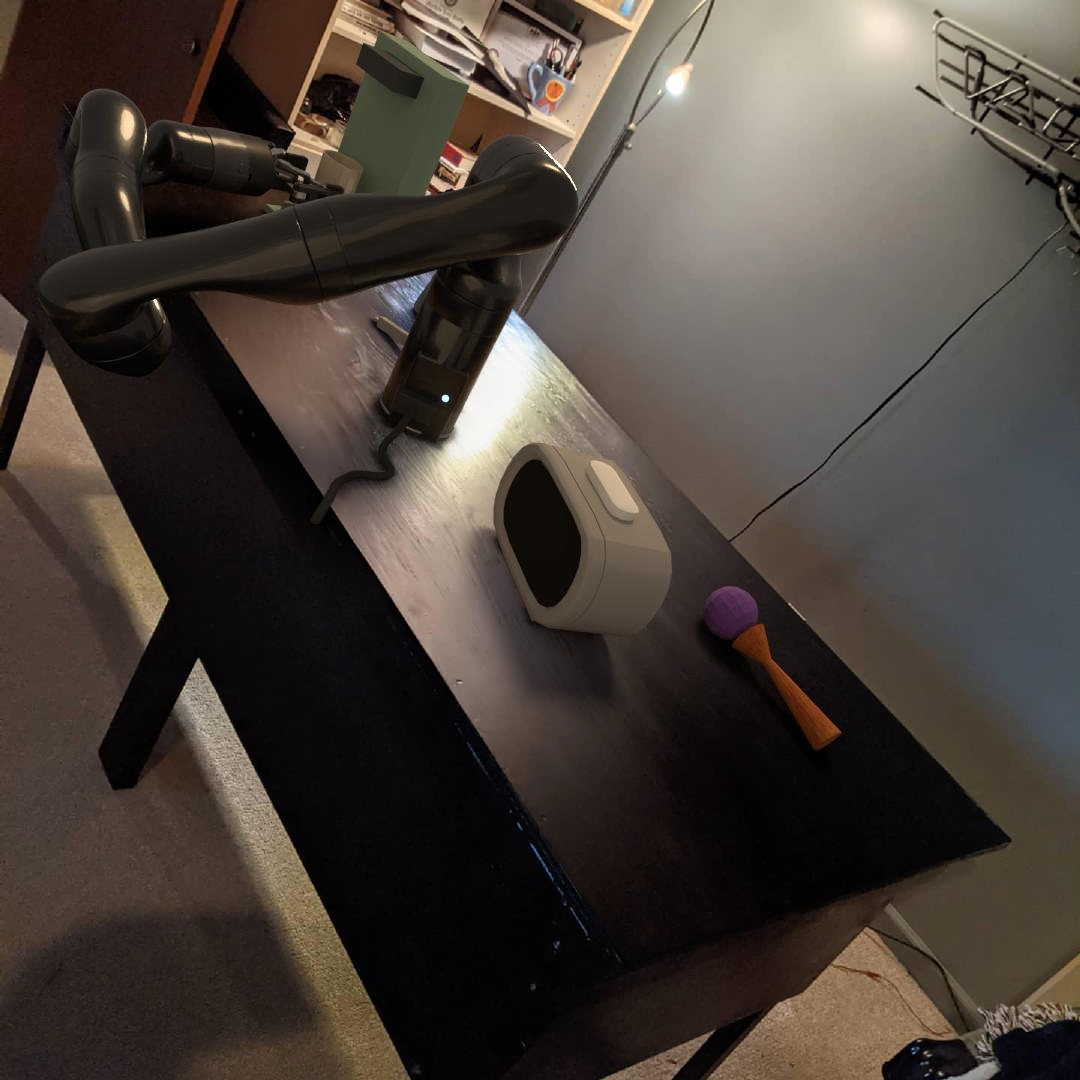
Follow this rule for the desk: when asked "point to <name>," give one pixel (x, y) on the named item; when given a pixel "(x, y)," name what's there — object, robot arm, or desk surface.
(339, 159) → the beige cylindrical cup
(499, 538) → the alarm clock
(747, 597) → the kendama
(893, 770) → the desk surface
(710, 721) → the desk surface
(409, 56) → the coffee maker
